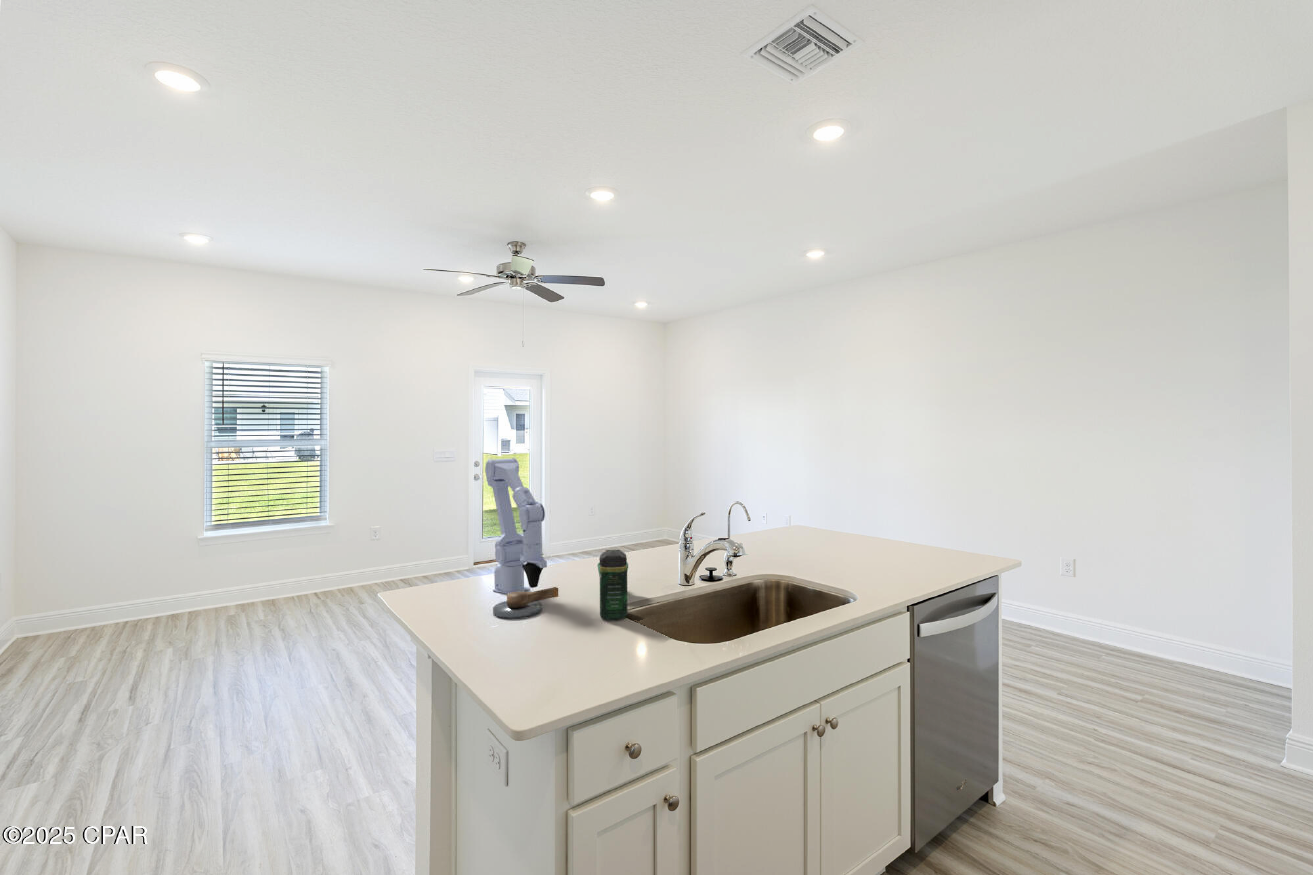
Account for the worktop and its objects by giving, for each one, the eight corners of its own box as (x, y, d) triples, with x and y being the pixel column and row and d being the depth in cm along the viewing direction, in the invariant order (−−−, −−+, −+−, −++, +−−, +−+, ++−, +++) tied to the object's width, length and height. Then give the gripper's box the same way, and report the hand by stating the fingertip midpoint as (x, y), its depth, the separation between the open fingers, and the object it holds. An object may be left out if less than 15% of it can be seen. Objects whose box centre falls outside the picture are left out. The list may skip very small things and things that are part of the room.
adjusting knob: (512, 609, 170) (512, 598, 170) (503, 604, 175) (503, 593, 175) (561, 598, 180) (561, 588, 180) (552, 593, 184) (552, 584, 184)
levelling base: (482, 614, 172) (482, 608, 172) (517, 601, 184) (517, 595, 184) (517, 622, 165) (517, 616, 164) (551, 608, 176) (551, 602, 176)
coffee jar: (628, 621, 164) (627, 554, 164) (599, 622, 164) (598, 555, 163) (627, 610, 174) (626, 547, 173) (600, 611, 173) (599, 547, 173)
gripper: (510, 541, 186) (511, 584, 187) (531, 548, 175) (532, 594, 175) (531, 538, 191) (532, 580, 191) (552, 545, 179) (553, 589, 180)
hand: (533, 586), depth 183 cm, fingers closed
